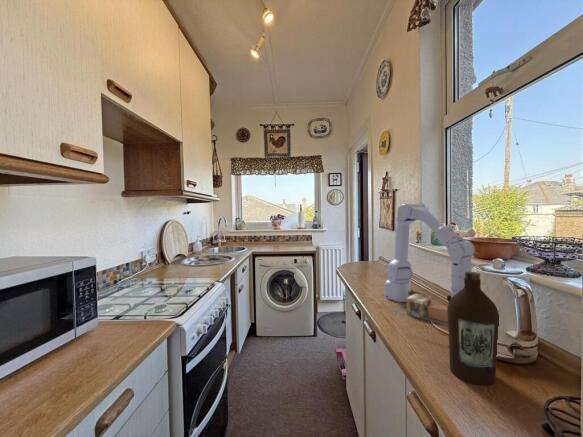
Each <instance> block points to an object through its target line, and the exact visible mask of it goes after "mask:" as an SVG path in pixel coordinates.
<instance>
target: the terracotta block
mask: <svg viewBox="0 0 583 437" xmlns="http://www.w3.org/2000/svg"><path fill="white" fill-rule="evenodd" d="M447 307H448V306H445V305H441V304H436V303H431V305H430V306H428V317H430V318H434V319H438V320H442V321H446V322H448V315H447Z"/></svg>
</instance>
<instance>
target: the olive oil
mask: <svg viewBox="0 0 583 437" xmlns="http://www.w3.org/2000/svg"><path fill="white" fill-rule="evenodd" d="M481 283H482V280H481V273H479V272H475V271H471V272H465V277H464V288H463V289H462V290H460V291H459V292H458V293H456V294H455V295H454V296H453V297H452V298H451V299H450V301H448V304H447V306H446V307H447V315H448V325H447V327H448V330H447V332H448V346H449V347H448V348H449V352H448V353H449V356H448V357H449V369H450V372H451V373H452V374H453V375H454V376H456V377H457V378H459V379H461V381H462V380H463V381H465V382H467V383H471V384H474V385H480V386H489V385H491V384H494V383H495V381H496V375H497V374H496V373H497V357H496V355H497V340H498V327H499V316H500V315H499V310H498V308H497V306H496V304H495V303H494V302H493V301H492V299H491V298H490V297H489V296H487V294H486V293H485V292H483V290H482V288H481Z"/></svg>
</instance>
